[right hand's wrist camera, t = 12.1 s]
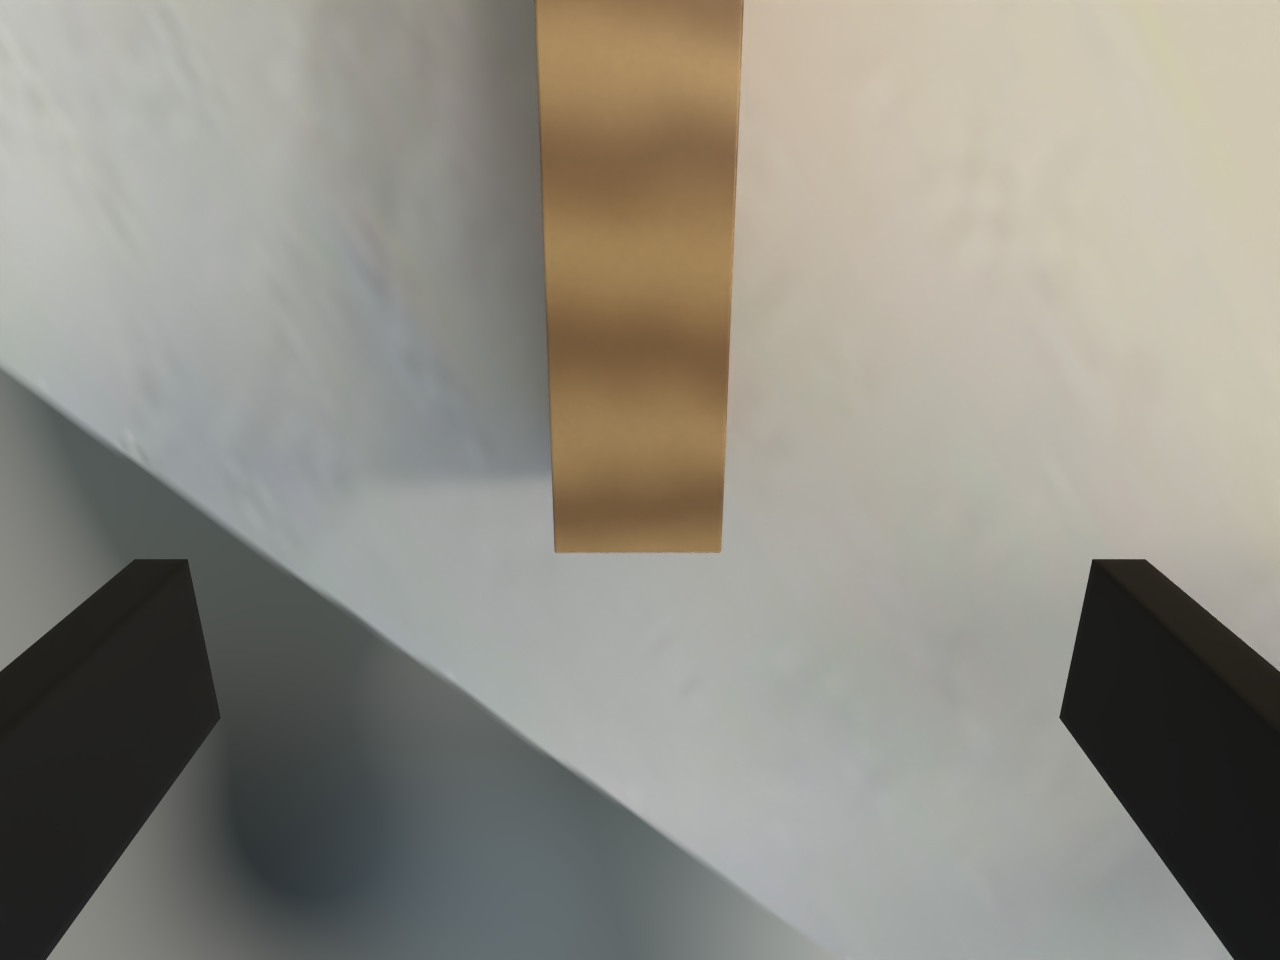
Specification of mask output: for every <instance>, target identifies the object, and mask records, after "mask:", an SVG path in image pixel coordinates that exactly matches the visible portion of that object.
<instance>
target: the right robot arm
mask: <svg viewBox="0 0 1280 960" xmlns="http://www.w3.org/2000/svg"><path fill="white" fill-rule="evenodd" d="M219 719H220V713H219V708H218V703H217V698H216V694H215V689H214V684H213V679H212V675H211V670H210V665H209V660H208V655H207V651H206V646H205V641H204V636H203V631H202V627H201V622H200V617H199V612H198V607H197V603H196V598H195V593H194V588H193V583H192V579H191V574H190V569H189V564H188V560H187V559H135V560H133V561H132V562H131V563H130V564H129V565H127V566H126V567H125V568H124V569H123V570H121V571H120V572H119V573H118V574H117V575H115V576H114V577H113V578H112V579H111V580H109V581H108V582H107V583H106V584H105V585H104V586H102V587H101V588H100V589H99V590H98V591H96V592H95V593H94V594H93V595H92V596H90V597H89V598H88V599H87V600H86V601H84V602H83V603H82V604H81V605H80V606H78V607H77V608H76V609H75V610H74V611H72V612H71V613H70V614H69V615H68V616H66V617H65V618H64V619H63V620H62V621H60V622H59V623H58V624H57V625H56V626H54V627H53V628H52V629H51V630H50V631H49V632H47V633H46V634H45V635H44V636H43V637H41V638H40V639H39V640H38V641H37V642H35V643H34V644H33V645H32V646H31V647H29V648H28V649H27V650H26V651H25V652H23V653H22V654H21V655H20V656H19V657H17V658H16V659H15V660H14V661H13V662H12V663H10V664H9V665H8V666H7V667H5V668H4V669H3V670H2V671H1V672H0V960H46V959H47V957H48V956H49V955H50V953H51V952H52V950H53V949H54V948H55V946H56V945H57V944H58V942H59V941H60V939H61V938H62V937H63V935H64V934H65V932H66V931H67V930H68V928H69V927H70V925H71V924H72V923H73V921H74V920H75V919H76V917H77V916H78V914H79V913H80V912H81V910H82V909H83V908H84V906H85V905H86V903H87V902H88V901H89V899H90V898H91V896H92V895H93V894H94V892H95V891H96V890H97V888H98V887H99V885H100V884H101V883H102V881H103V880H104V878H105V877H106V876H107V874H108V873H109V872H110V870H111V869H112V867H113V866H114V865H115V863H116V862H117V860H118V859H119V858H120V856H121V855H122V854H123V852H124V851H125V849H126V848H127V847H128V845H129V844H130V842H131V841H132V840H133V838H134V837H135V835H136V834H137V833H138V831H139V830H140V829H141V827H142V826H143V824H144V823H145V822H146V820H147V819H148V817H149V816H150V815H151V813H152V812H153V811H154V809H155V808H156V806H157V805H158V804H159V802H160V801H161V800H162V798H163V797H164V795H165V794H166V793H167V791H168V790H169V788H170V787H171V786H172V784H173V783H174V781H175V780H176V779H177V777H178V776H179V775H180V773H181V772H182V770H183V769H184V768H185V766H186V765H187V763H188V762H189V761H190V759H191V758H192V757H193V755H194V754H195V752H196V751H197V750H198V748H199V747H200V746H201V744H202V743H203V741H204V740H205V739H206V737H207V736H208V734H209V733H210V732H211V730H212V729H213V727H214V726H215V725H216V723H217V722H218V721H219ZM1060 719H1061V721H1062V722H1063V723H1064V725H1065V726H1066V728H1067V729H1068V730H1069V732H1070V733H1071V734H1072V736H1073V737H1074V739H1075V740H1076V741H1077V743H1078V744H1079V746H1080V747H1081V748H1082V750H1083V751H1084V752H1085V754H1086V755H1087V757H1088V758H1089V759H1090V761H1091V762H1092V764H1093V765H1094V766H1095V768H1096V769H1097V770H1098V772H1099V773H1100V775H1101V776H1102V777H1103V779H1104V780H1105V782H1106V783H1107V784H1108V786H1109V787H1110V788H1111V790H1112V791H1113V793H1114V794H1115V795H1116V797H1117V798H1118V800H1119V801H1120V802H1121V804H1122V805H1123V806H1124V808H1125V809H1126V811H1127V812H1128V813H1129V815H1130V816H1131V818H1132V819H1133V820H1134V822H1135V823H1136V824H1137V826H1138V827H1139V829H1140V830H1141V831H1142V833H1143V834H1144V836H1145V837H1146V838H1147V840H1148V841H1149V842H1150V844H1151V845H1152V847H1153V848H1154V849H1155V851H1156V852H1157V854H1158V855H1159V856H1160V858H1161V859H1162V860H1163V862H1164V863H1165V865H1166V866H1167V867H1168V869H1169V870H1170V872H1171V873H1172V874H1173V876H1174V877H1175V878H1176V880H1177V881H1178V883H1179V884H1180V885H1181V887H1182V888H1183V890H1184V891H1185V892H1186V894H1187V895H1188V896H1189V898H1190V899H1191V901H1192V902H1193V903H1194V905H1195V906H1196V908H1197V909H1198V910H1199V912H1200V913H1201V914H1202V916H1203V917H1204V919H1205V920H1206V921H1207V923H1208V924H1209V926H1210V927H1211V928H1212V930H1213V931H1214V932H1215V934H1216V935H1217V937H1218V938H1219V939H1220V941H1221V942H1222V944H1223V945H1224V946H1225V948H1226V949H1227V950H1228V952H1229V953H1230V955H1231V956H1232V957H1233V959H1234V960H1280V672H1279V671H1278V670H1277V669H1276V668H1275V667H1273V666H1272V665H1271V664H1270V663H1269V662H1267V661H1266V660H1265V659H1264V658H1263V657H1261V656H1260V655H1259V654H1258V653H1257V652H1255V651H1254V650H1253V649H1252V648H1251V647H1249V646H1248V645H1247V644H1246V643H1245V642H1243V641H1242V640H1241V639H1240V638H1239V637H1237V636H1236V635H1235V634H1234V633H1233V632H1232V631H1230V630H1229V629H1228V628H1227V627H1226V626H1224V625H1223V624H1222V623H1221V622H1220V621H1218V620H1217V619H1216V618H1215V617H1214V616H1212V615H1211V614H1210V613H1209V612H1208V611H1206V610H1205V609H1204V608H1203V607H1202V606H1200V605H1199V604H1198V603H1197V602H1196V601H1194V600H1193V599H1192V598H1191V597H1190V596H1188V595H1187V594H1186V593H1185V592H1184V591H1182V590H1181V589H1180V588H1179V587H1178V586H1176V585H1175V584H1174V583H1173V582H1172V581H1171V580H1169V579H1168V578H1167V577H1166V576H1165V575H1163V574H1162V573H1161V572H1160V571H1159V570H1157V569H1156V568H1155V567H1154V566H1153V565H1151V564H1150V563H1149V562H1148V561H1147V560H1145V559H1092V564H1091V569H1090V574H1089V579H1088V583H1087V588H1086V593H1085V598H1084V603H1083V607H1082V612H1081V617H1080V622H1079V626H1078V631H1077V636H1076V641H1075V646H1074V650H1073V655H1072V660H1071V665H1070V670H1069V674H1068V679H1067V684H1066V689H1065V694H1064V698H1063V703H1062V708H1061V713H1060Z"/></svg>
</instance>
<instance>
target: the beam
mask: <svg viewBox="0 0 1280 960" xmlns="http://www.w3.org/2000/svg"><path fill="white" fill-rule="evenodd" d="M743 7H744V0H535V23H536V50H537V78H538V105H539V133H540V160H541V188H542V215H543V243H544V270H545V298H546V326H547V353H548V381H549V408H550V436H551V463H552V491H553V518H554V546H555V552H556V553H720V552H721V541H722V517H723V492H724V468H725V444H726V420H727V395H728V371H729V347H730V322H731V298H732V274H733V250H734V225H735V201H736V177H737V152H738V128H739V104H740V80H741V55H742V31H743Z"/></svg>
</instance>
